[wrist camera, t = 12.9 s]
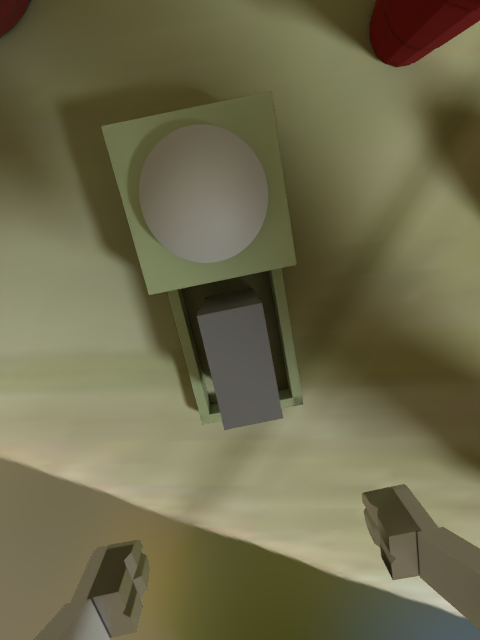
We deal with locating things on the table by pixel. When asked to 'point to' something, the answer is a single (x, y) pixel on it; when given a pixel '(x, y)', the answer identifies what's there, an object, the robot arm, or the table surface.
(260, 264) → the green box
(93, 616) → the robot arm
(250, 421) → the tall grey box
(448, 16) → the plastic cup
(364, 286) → the table surface
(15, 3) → the canister
